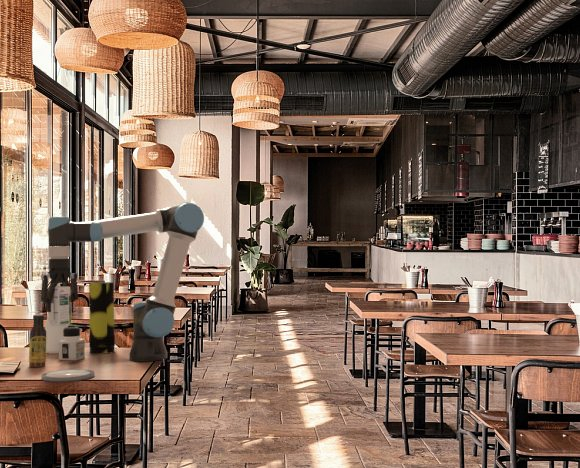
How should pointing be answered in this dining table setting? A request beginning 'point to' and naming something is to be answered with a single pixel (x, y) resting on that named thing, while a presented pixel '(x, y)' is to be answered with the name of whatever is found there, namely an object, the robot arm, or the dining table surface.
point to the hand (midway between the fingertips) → (60, 319)
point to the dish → (67, 375)
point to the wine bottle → (53, 336)
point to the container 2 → (101, 317)
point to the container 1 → (71, 345)
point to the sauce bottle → (37, 343)
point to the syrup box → (61, 306)
